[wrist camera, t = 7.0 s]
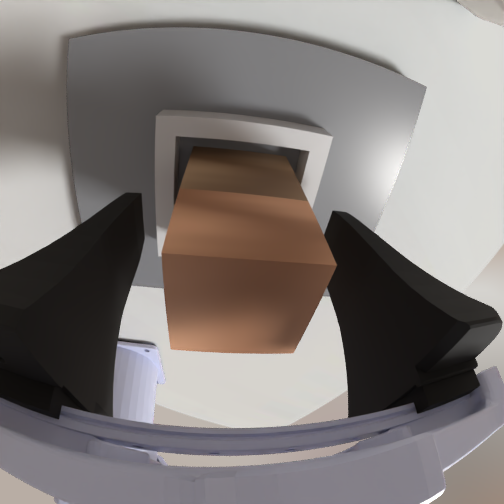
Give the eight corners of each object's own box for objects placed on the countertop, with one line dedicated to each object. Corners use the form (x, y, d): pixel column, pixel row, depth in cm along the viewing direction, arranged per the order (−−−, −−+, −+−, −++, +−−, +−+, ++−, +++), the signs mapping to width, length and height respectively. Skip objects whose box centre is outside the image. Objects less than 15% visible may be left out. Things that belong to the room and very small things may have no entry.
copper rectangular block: (189, 223, 14) (170, 348, 8) (193, 146, 11) (161, 252, 6) (269, 230, 14) (293, 353, 9) (285, 156, 12) (337, 265, 7)
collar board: (103, 265, 17) (91, 296, 15) (84, 38, 8) (54, 39, 6) (335, 280, 19) (346, 310, 17) (410, 81, 11) (441, 92, 9)
